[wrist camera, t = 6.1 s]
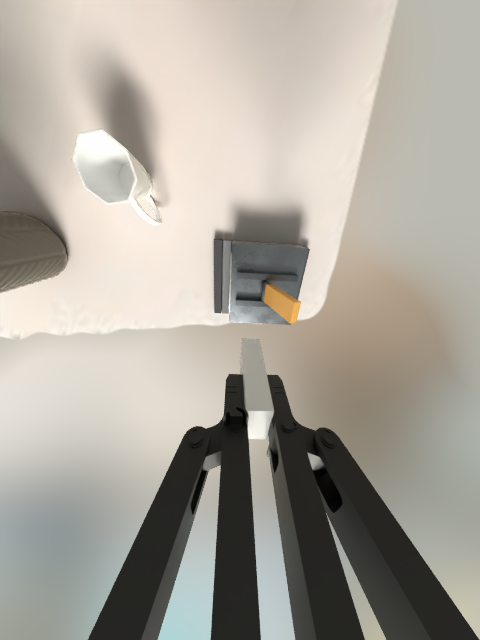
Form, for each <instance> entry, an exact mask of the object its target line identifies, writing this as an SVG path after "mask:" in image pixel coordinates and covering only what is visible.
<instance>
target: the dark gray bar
mask: <svg viewBox="0 0 480 640" xmlns="http://www.w3.org/2000/svg"><path fill="white" fill-rule="evenodd" d="M309 250H310V249H308V252H307V256H306V261H305V265H304V269H303V273H302V278H301V282H300V286H299V291H298V295H297V300H298V296H299V292H300V288H301V284H302V280H303V275H304V271H305V267H306V263H307V259H308V254H309Z"/></svg>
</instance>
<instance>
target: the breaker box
mask: <svg viewBox="0 0 480 640" xmlns="http://www.w3.org/2000/svg"><path fill="white" fill-rule="evenodd" d="M307 252H308V248H306V247H303V246H301V245H296V244H280V243H265V242H250V241H234V240H233V241H232V251H231V266H230V295H229V313H230V316H229V322H239V323H262V324H287V325H291V323H289V322H288V321H286V320H285V319H284V318H283V317H282V316H280V315H279V314H278V313H277V312H276V311H274V310H273V309H272V308H271V307H270V306H268V305H267V304H266V303H265V302H264V301H262V292H263V284H264V282H269V283H271V284H272V285H274V286H276V287H277V288H279V289H280V290H282V291H284V292H285V293H287V294H289V295H290V296H292V297H293V298H295V299H297V295H298V291H299V286H300V282H301V278H302V273H303V269H304V265H305V261H306V256H307Z"/></svg>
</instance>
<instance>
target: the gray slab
mask: <svg viewBox="0 0 480 640" xmlns="http://www.w3.org/2000/svg"><path fill="white" fill-rule="evenodd" d="M222 241H223V290H222ZM230 266H231V240H219V239H214V310H215V313H221V311H222V313H228V314H229V295H230Z"/></svg>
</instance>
